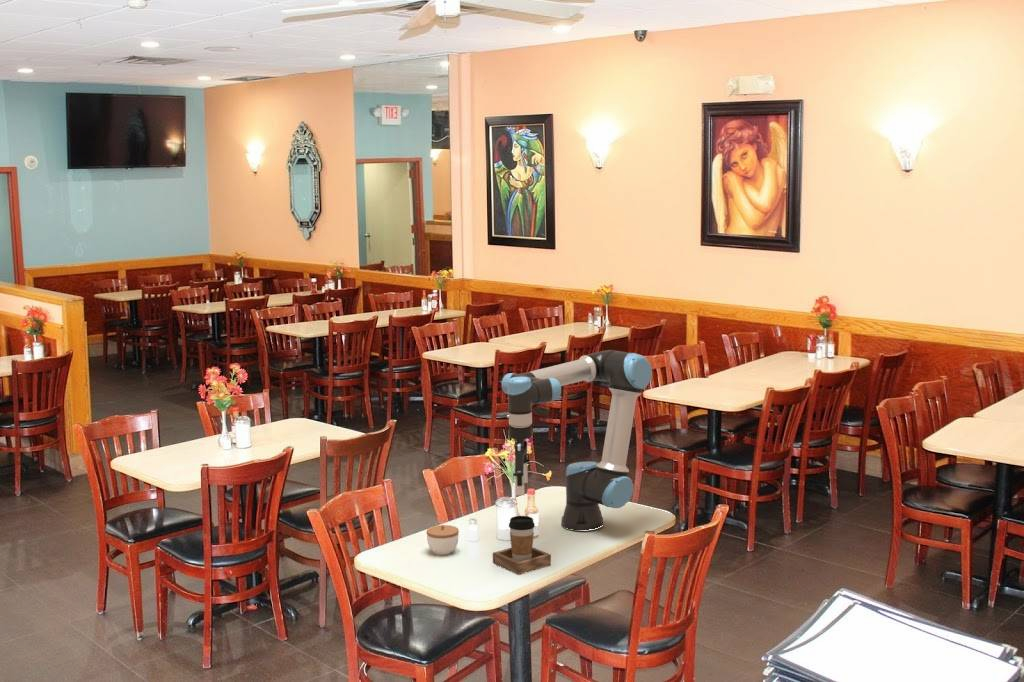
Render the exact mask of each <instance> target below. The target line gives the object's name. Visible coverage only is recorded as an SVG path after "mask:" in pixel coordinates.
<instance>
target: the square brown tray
mask: <svg viewBox="0 0 1024 682" xmlns="http://www.w3.org/2000/svg"><path fill="white" fill-rule="evenodd" d="M493 563H494V564H493ZM492 564H493V565H495V564H496V566H497V567H500V566H501V568H502V569H504V568H505V569H504V570H507V571H509V572H511V571H512V573H513V572H514V573H513V574H515V573H516V575H517V576H520V575H523V574H526V573H525V572H527V573H529V571H530V572H533V571H536V569H537V570H539V569H542V568H547V567H549V566H551V565H552V554H550V553H548V552H545V551H543V550H540V549H538V548H535V547H533V546H532V556H531V559H528V560H525V561H521V562H518V561H515V560H513V558H512V548H511V547H509V548H504V549H502V550H498V551H495V552H494V551H493V552H492ZM546 566H547V567H546ZM532 570H533V571H532ZM522 573H523V574H522ZM519 574H520V575H519Z"/></svg>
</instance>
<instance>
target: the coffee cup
mask: <svg viewBox="0 0 1024 682" xmlns="http://www.w3.org/2000/svg"><path fill="white" fill-rule="evenodd" d="M508 523H509V524H508V528H509V530H510V532H509V537H510V545H511V546H510V548H512V558H513V560H515V561H518V562H521V561H525V560H528V559H531V556H532V547H533V543H534V534H535V533H534V528H535V527H536V526H535V523H534V518H533V517H531V516H529V515H528V516H527V515H517V516H512V517H511V518H510V520H509V522H508Z"/></svg>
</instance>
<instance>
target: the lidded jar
mask: <svg viewBox="0 0 1024 682" xmlns="http://www.w3.org/2000/svg"><path fill="white" fill-rule="evenodd" d="M459 532H460V530H459V528H458V527H456V526H454V525H449V524H447V525H446V524H439V525H434V526H431V527H428V528H427V530H426V540H427V545H428V547H429V549H430V550H431V551H432V552H433V553H434V555H437V554H439V555H438V556H447V555H446V554H448V555H450V553H451V552H452V553H453V551H454V550H455V549H457V545H458V542H459ZM452 553H451V554H452Z"/></svg>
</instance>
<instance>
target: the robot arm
mask: <svg viewBox="0 0 1024 682" xmlns="http://www.w3.org/2000/svg"><path fill="white" fill-rule="evenodd" d="M652 375H653V369H652V365H651V363H650V362H649V360H648V358H647V357H645V356H643V354H642V355H641V354H638V353H635V352H627V351H622V350H621V351H620V350H616V349H614V350H613V349H607V350H601V351H597V352H593V353H589V354H584V355H581V356H580V357H579V358H578V359H576V360H571V361H568V362H563V363H560V364H555V365H552V366H548V367H544V368H540V369H539V368H538V369H535V370H532V371H527V372H523V373H517V372H514V373H513V372H511V373H509V372H508V373H507V374H505V375H504V376H503V377H502V379H501V389H502V391H503V393H505V394H506V395H507V409H508V414H507V415H506V419H508V424H509V426H508V437H509V438H511V439H513V440H515V441H514V444H513V445H514V457H515V458H514V462H515V463H514V472H513V473H512V477H515V496H525V484H528V482H529V481H528V479H529V478H528V475H529V474H528V464H529V463H530V459H529V458H528V457H529V456H528V441H527V439H531V438H532V437H533V426H532V424H533V411H532V410H533V409H532V407H533V405H539V404H544V403H551V402H553V401H556V400H558V399H559V398H561V395H562V387H564V386H567V385H571V384H572V385H573V384H575V383H579V382H585V383H591V382H597V381H598V382H604V383H609V385H608V390H609V391H610V392H611V399H610V407H609V412H608V418H607V425H606V429H605V437H604V443H603V449H602V455H601V460H600V462H598V461H597V462H596V461H579V462H572V463H570V464H568V465H567V467H566V471H565V495H566V502H565V507H564V510H563V515H562V517H561V527H562V526H563V528H564V527H565V528H568V529H573V530H589V529H595V528H598V527H600V526H602V525H603V526H604V517H603V515H602V511H601V507H600V505H602V506H604V507H606V508H613V509H621V508H622V507H625V505H626V504H628V502H630V500H631V498H632V496H633V493H634V483H633V481H632V479H631V478H630V477H629V475H630V469H629V468H628V466H627V459H628V453H629V447H630V441H631V435H632V428H633V423H634V422H633V421H634V415H635V409H636V403H637V398H638V397H640V396H641V395H642V394H643V390H644V389H645V388H646V387H648V385H649V384H650V382H651V381H652ZM565 528H564V529H565ZM568 529H567V530H568Z"/></svg>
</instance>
